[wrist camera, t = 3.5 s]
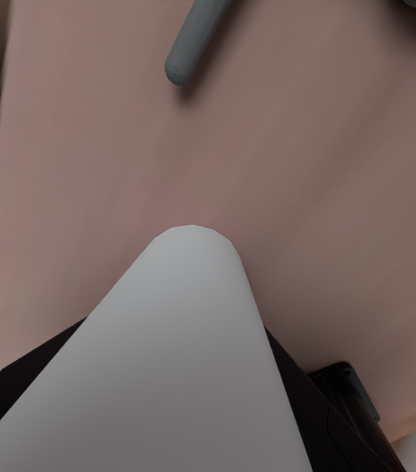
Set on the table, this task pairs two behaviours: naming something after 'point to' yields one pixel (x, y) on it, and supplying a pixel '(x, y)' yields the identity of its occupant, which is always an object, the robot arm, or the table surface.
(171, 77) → the walkie-talkie
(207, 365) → the white cup
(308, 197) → the table surface
